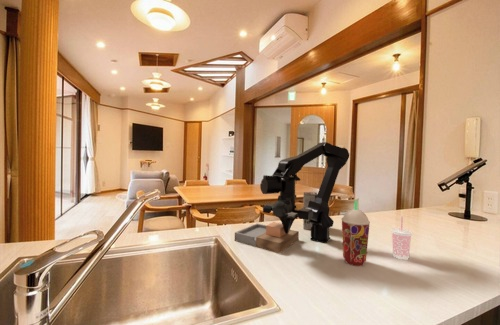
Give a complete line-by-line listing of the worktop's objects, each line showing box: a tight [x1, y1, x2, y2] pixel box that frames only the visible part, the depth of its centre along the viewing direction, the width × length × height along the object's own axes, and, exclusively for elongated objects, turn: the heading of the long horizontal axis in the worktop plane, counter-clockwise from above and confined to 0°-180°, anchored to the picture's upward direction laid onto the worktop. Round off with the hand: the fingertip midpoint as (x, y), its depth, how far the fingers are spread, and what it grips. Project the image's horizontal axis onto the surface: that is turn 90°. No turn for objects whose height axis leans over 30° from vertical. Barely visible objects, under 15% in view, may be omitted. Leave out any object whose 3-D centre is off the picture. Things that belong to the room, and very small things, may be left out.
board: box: [255, 229, 300, 254], centre depth 95 cm, size 10×16×4 cm, turn 145°
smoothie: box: [341, 200, 371, 267], centre depth 78 cm, size 8×8×20 cm
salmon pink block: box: [266, 221, 286, 237], centre depth 95 cm, size 6×6×4 cm
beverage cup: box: [390, 215, 413, 260], centre depth 83 cm, size 6×6×14 cm
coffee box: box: [302, 191, 318, 230], centre depth 116 cm, size 9×6×16 cm
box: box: [234, 223, 267, 247], centre depth 101 cm, size 10×16×3 cm, turn 145°
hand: (286, 233), depth 92 cm, fingers closed
